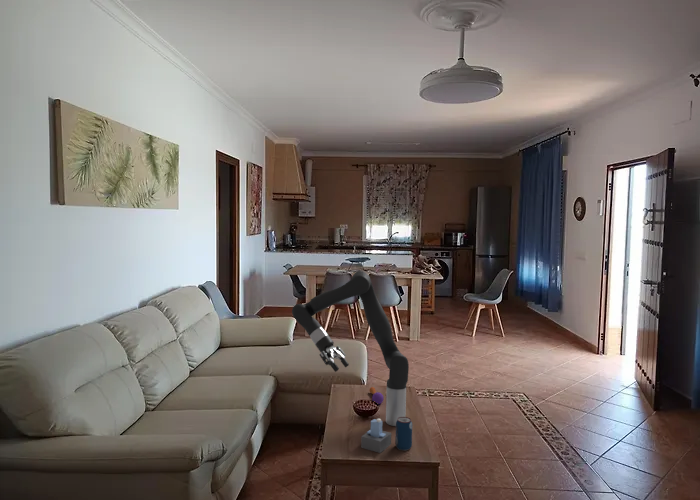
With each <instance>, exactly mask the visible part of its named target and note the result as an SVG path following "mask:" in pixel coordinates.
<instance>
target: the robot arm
mask: <svg viewBox="0 0 700 500" xmlns="http://www.w3.org/2000/svg"><path fill="white" fill-rule="evenodd" d="M357 296H359V298H360V300H361V303H362V306H363V311H364V315H365V318H366V322H367V324H368V327H369V329H370V330H371V333H372V335H373V337H374V339H375V341H376V342H377V344H378V346H379V348H380V350H381V353H382V356H383V360H384V362H385V365H386V368H388V369H389V375H388V379H387V380H386V393H385V394H386V397H385V399H386V405H385V423H386V424H387V425H388V426H392V427H396V422H397V419H398V418H399V417H406V413H407V411H406V409H407V406H406V405H407V403H406V402H407V383H408V380H409V364H410V363H409V360H408V357H406V356H405V355H404V354H402V353H401V351H400V350H399V348H398V346H397V344H396V343H395V340H394V338H393V337H394V336H393V332H392V331H393V330H392V327H391V323H390V320H389V319H388V316H387V314H386V313H385V310H384V308H383V307H382V304H381V303H380V301H379V299H378V297H377V294H376V291H375V289H374V285H373V283H372V280H371V277H370V275H369V274H368V273H367V272H365V271H363V270H359V271H355V272H354V273H353V275H352V276H351V278H350V280H349V281H347V282H346V283H344V284H343V285H341V286H338V287H337V288H334V289H331V290H328V291H324V292H322V293H320V294H318V295H316V296H314V297H312V298H311V299H310V301H308V302H306V303H303V304H301V303H297V304H295V305H293V307H292V309H291V313H292V316H293V318H294V319H295V321H296V322H298V324H299V325H300V326H301V327H302V328H303V329H304V330H305V332H306V334H307V335H308V336H309V337H310V340H311V341H312V343H314V345H315V347H316V348H317V350H318V351H319V352H320V354H319V356H320V358H321V359H322V362H324V365H325V366H330V367H331V368H332V370H333V371H334V372H335V373H336V372H338V371H339V369H340V367H338V365H337V363H335V362H334V361H335V360H339V361H340V363H342V365H343V366H344V368H347V367H348V366H349V365H350V364H349V362H348V360H347V359H346V356H347V354H346V352H344V350H343V349H342V347H341V346H339V345H337V346H334V344H335V343H334V340H333V339H332V337H330V334H328V332H327V331H326V330H325V329H324V328H323V326H322V325H321V324H320V322H319V321H318V320H317V319H316V318H314V317H313V316H314V315H316V314H317V313H319V312H321V311H324V310H325V309H327V308H329V307H331V306H333V305H335V304H337V303H340V302H342V301H345V300H347V299H350V298H353V297H357Z"/></svg>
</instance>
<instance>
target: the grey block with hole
mask: <svg viewBox="0 0 700 500" xmlns="http://www.w3.org/2000/svg"><path fill="white" fill-rule="evenodd" d="M382 433H385V434H386V436H384V437H383V438H382V437H381V438H377V437H374V436H370V434H367V432H365V433H364V434H362V435H361V438H360V441H361V443H360V444H361V445H360V446H361V447H360V448H362V449H365V450H367V451H371V452H375V453H379V454H382V452H384V451H385V450H386V449H387V448H389V446H391V445H392V432H390V431H389V432H388V431H385V430H382Z"/></svg>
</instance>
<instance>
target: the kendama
mask: <svg viewBox="0 0 700 500" xmlns="http://www.w3.org/2000/svg"><path fill="white" fill-rule="evenodd" d="M369 393H370V394H372V398H371V399H372V402H373V401H375V402H376V403H378V404H377V405H381V404H382V403H383V402H384V395H383V394H382V392H378V391H376V388H375V387H373V386H371V387H370V388H369Z"/></svg>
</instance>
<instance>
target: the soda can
mask: <svg viewBox="0 0 700 500" xmlns="http://www.w3.org/2000/svg"><path fill="white" fill-rule="evenodd" d="M394 437H395V442H394V443H395V446H396V449H398V450H399V451H408V450H410V449H411V448H412V447H413V446H412V445H413V422H412V418H410V417H408V416H405V417H399V418H398V419H397V422H396V426H395V436H394Z"/></svg>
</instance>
